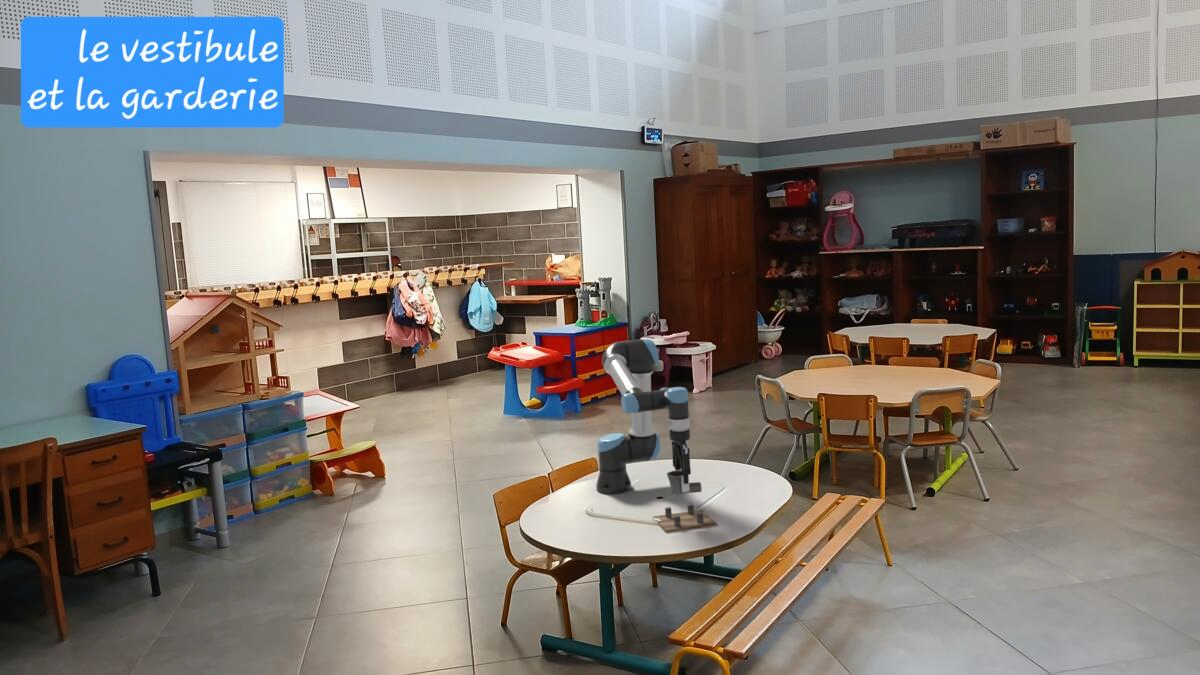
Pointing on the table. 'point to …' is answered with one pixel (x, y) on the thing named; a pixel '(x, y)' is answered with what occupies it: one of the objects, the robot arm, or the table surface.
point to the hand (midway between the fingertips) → (682, 488)
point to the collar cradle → (684, 519)
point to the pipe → (677, 485)
